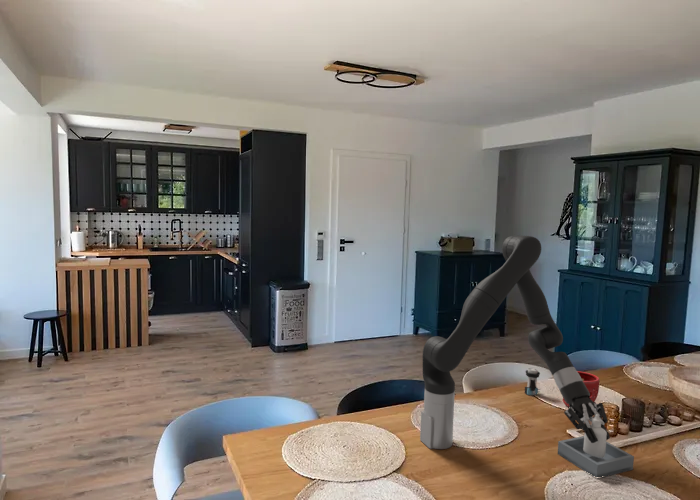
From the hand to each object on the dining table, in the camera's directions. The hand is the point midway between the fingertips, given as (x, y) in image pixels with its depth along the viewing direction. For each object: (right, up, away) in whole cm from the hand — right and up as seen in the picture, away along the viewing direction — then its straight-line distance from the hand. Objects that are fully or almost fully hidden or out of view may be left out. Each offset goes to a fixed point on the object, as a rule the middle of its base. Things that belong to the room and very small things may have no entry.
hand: (601, 440), depth 137 cm
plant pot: (+14, -4, +42) cm, 44 cm away
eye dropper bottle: (-1, -5, +2) cm, 6 cm away
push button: (+1, -3, +53) cm, 53 cm away
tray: (-1, -7, +2) cm, 8 cm away
